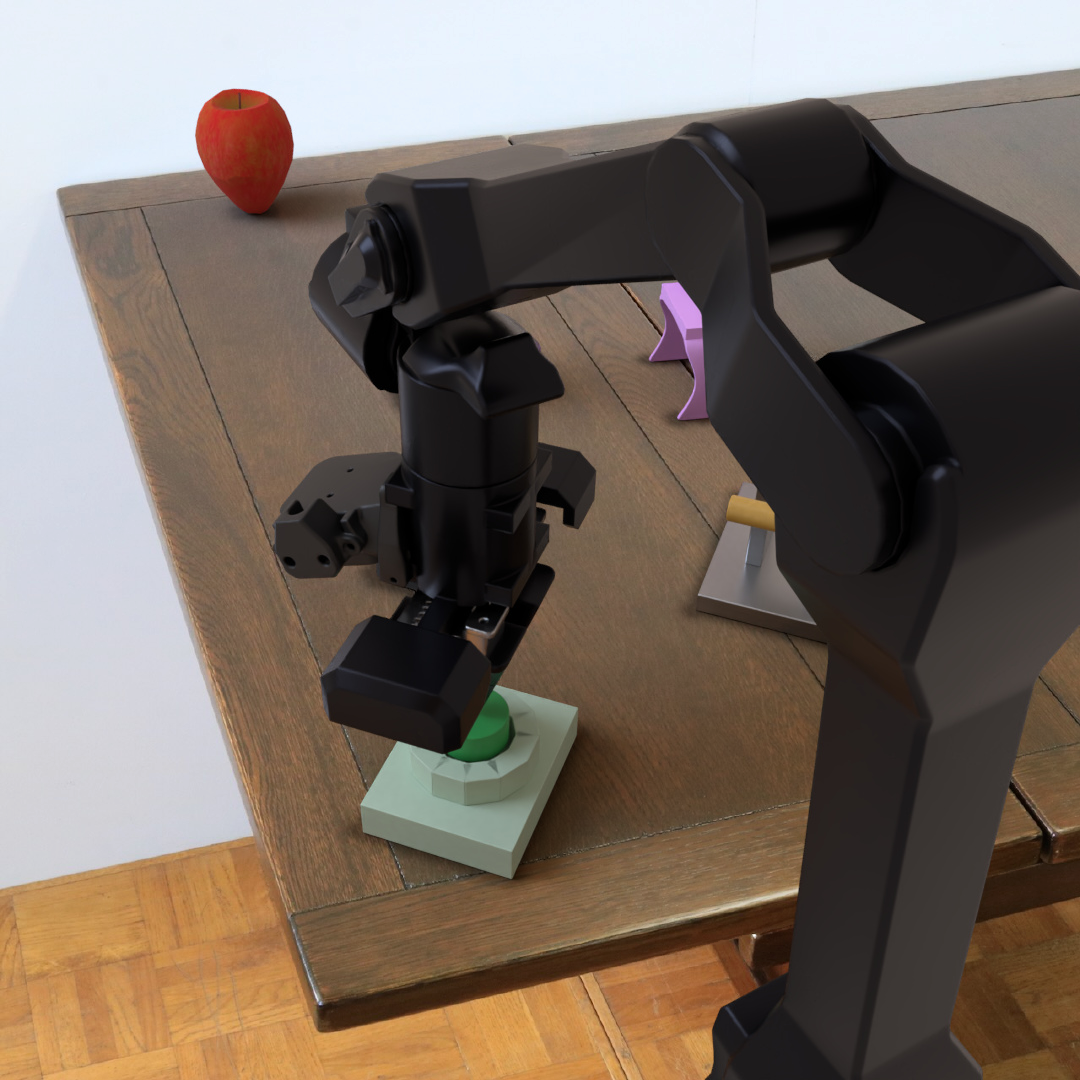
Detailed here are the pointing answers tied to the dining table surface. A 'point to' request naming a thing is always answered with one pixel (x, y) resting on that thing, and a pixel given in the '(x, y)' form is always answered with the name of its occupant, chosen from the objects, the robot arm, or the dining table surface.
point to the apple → (245, 146)
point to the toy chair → (683, 343)
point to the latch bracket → (753, 581)
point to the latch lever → (750, 513)
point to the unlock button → (486, 732)
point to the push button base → (475, 790)
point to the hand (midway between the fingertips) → (472, 704)
